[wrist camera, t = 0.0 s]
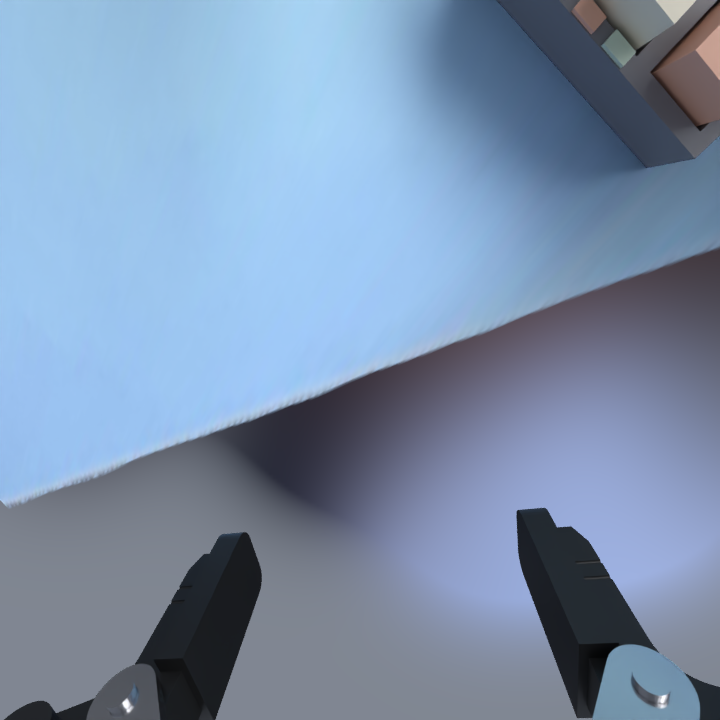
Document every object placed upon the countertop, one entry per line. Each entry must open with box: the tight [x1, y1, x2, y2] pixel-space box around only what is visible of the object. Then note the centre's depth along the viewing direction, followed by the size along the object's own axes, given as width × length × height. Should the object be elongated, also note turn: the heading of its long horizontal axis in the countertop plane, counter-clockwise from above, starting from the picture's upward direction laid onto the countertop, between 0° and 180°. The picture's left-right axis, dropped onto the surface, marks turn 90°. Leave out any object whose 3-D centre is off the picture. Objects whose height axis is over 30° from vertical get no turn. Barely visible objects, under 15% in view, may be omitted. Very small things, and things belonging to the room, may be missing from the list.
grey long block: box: [497, 0, 720, 168], centre depth 27 cm, size 22×8×6 cm, turn 50°
